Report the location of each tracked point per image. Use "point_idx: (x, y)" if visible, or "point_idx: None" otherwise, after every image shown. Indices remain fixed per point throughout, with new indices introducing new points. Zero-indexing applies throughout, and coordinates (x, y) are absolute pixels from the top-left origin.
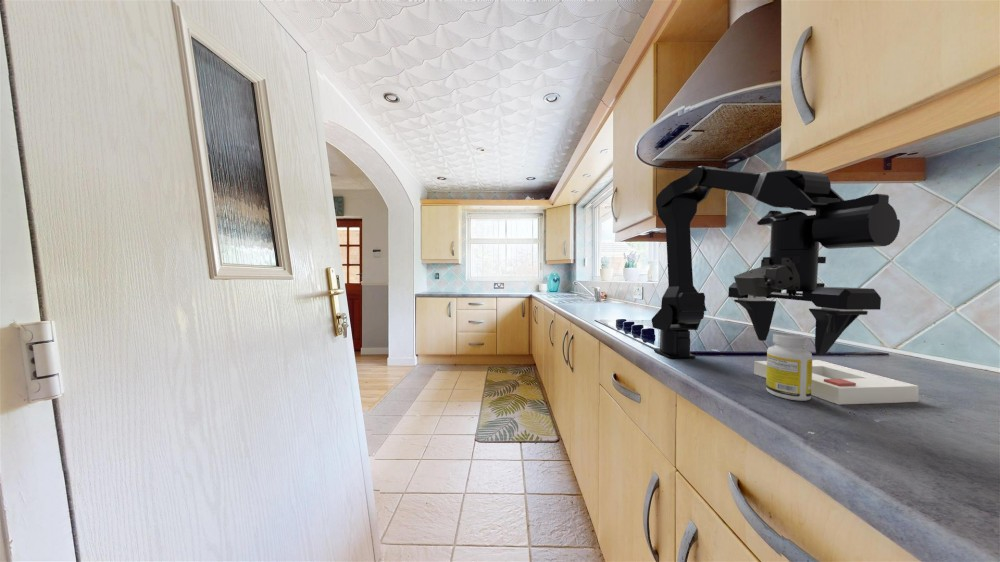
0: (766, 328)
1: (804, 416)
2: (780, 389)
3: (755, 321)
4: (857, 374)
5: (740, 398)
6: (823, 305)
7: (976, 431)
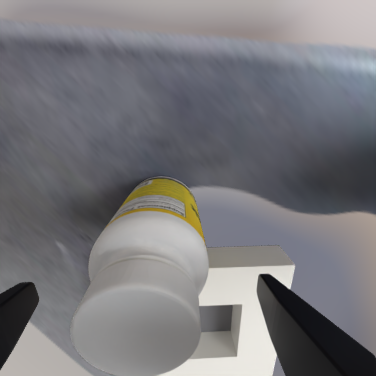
0: (284, 353)
1: (58, 140)
2: (144, 182)
3: (343, 361)
4: (186, 364)
5: (144, 80)
6: None
7: (46, 325)
